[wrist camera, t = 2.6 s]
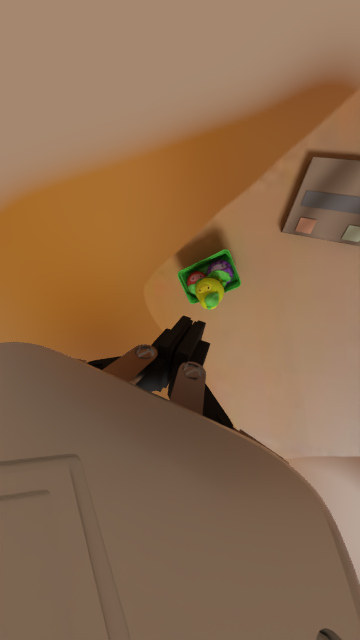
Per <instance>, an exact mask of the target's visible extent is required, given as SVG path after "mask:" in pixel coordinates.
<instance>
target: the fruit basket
mask: <svg viewBox="0 0 360 640" xmlns="http://www.w3.org/2000/svg"><path fill="white" fill-rule="evenodd" d="M178 278H179V280H180V283H181V285H182V287H183V289H184V291H185V293H186V296H187V298H188V300H189V302H190V303H191V304H195V303H197V302H200V304H201V306H202V307H204V308H206V309H208V310H210V309H213V308H215V307H216V306H217V305H218V304H219V302H220V301H221V299H222V298H223V295H224V293H225V292H227V291H230V290H233V289H235V288H238V287H239V286H240V285H241V281H240V278H239V276H238V273H237V270H236V268H235V265H234V262H233V259H232V257H231V254H230V251H229V250H226V249H224V250H222V251H220V252H218V253H216V254H214V255H212V256H210V257H208V258H206V259H204V260H202V261H200V262H197V263H195V264H193V265H191V266H189V267H187V268H185V269H183V270H181V271H179V272H178Z"/></svg>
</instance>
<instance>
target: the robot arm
mask: <svg viewBox="0 0 360 640" xmlns="http://www.w3.org/2000/svg"><path fill="white" fill-rule="evenodd" d="M192 323H193V321H192V320H191V318H189V317H186V316H182V317H181V319H180V320H179V321H178V322H177V323H176V325H175V326H174V327H173V328H172V329H171V330H170V329H165V331H164V332H163V333H162V334H161V335H160V336H159V337H158V338H157V339H156V340H155V342H154V343H153V344H152V345H151V346H150V345H146V344H144V345H138V346H136V347H134V348H133V349H131V350H130V351H128V352H127V353H126V354H124V355H123V356H120V357H113V358H107V359H100V360H94V361H90V362H88V363H87V361H86V360H81V359H76V358H72V357H70V356H68V355H65V354H63V353H61V352H58V351H55V350H53V349H50V348H47V347H44V346H40V345H36V344H30V343H21V342H6V343H0V640H360V584H359V580H358V578H357V575H356V572H355V569H354V566H353V564H352V561H351V558H350V556H349V553H348V551H347V548H346V546H345V543H344V541H343V538H342V536H341V533H340V531H339V529H338V527H337V524H336V522H335V520H334V518H333V516H332V514H331V512H330V510H329V509H328V507H327V505H326V504H325V502H324V501H323V499H322V498H321V497H320V495H319V494H318V493H317V491H316V490H315V489H314V488H313V487H312V486H311V485H310V483H308V481H307V480H305V478H304V477H303V476H302V475H300V473H298V472H297V471H296V470H295V469H294V468H293V467H291V466H290V465H289V463H288V462H287V461H285V460H284V459H283V458H282V457H280V456H279V455H278V454H276V453H275V452H273V451H272V450H270V449H269V448H267V447H266V446H264V445H263V444H261V443H260V442H259V441H257V440H256V439H254V438H253V437H251V436H250V435H248V434H247V433H245V432H244V431H242V430H241V429H240V430H239V431H238V430H237V429H235V428H234V427H233V424H232V423H231V421H230V419H229V417H228V416H227V415H226V413H225V412H224V410H223V409H222V407H221V406H220V404H219V403H218V401H217V400H216V398H215V397H214V395H213V394H212V392H211V391H210V389H209V388H208V387H207V385H206V384H205V380H206V372H205V370H204V368H203V364H204V362H205V359H206V356H207V352H208V349H209V346H210V343H208V342H205V341H202V340H201V339H202V335H203V331H204V328H205V324H206V323H205V322H202V321H199V320H198V322H194V323H193V325H192ZM168 384H169V386H168V389H169V390H168V396H169V399H170V401H169V400H167V399H165V398H163V397H160V396H158V395H156V394H154V393H152V391H156V390H157V391H159V392H161V390H162V388H163V387H164V388H166V387H167V385H168Z"/></svg>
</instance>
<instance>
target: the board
mask: <svg viewBox="0 0 360 640" xmlns="http://www.w3.org/2000/svg"><path fill="white" fill-rule="evenodd" d="M281 232H284V233H290V234H295V235H301V236H307V237H312V238H318V239H323V240H329V241H335V242H340V243H346V244H351V245H357V246H360V161H358V160H346V159H333V158H321V157H313V158H312V159H311V160H310V163H309V165H308V168H307V170H306V172H305V175H304V177H303V180H302V182H301V185H300V187H299V190H298V192H297V195H296V197H295V199H294V202H293V204H292V207H291V209H290V212H289V214H288V217H287V219H286V222H285V224H284V226H283V229H282V231H281Z"/></svg>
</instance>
